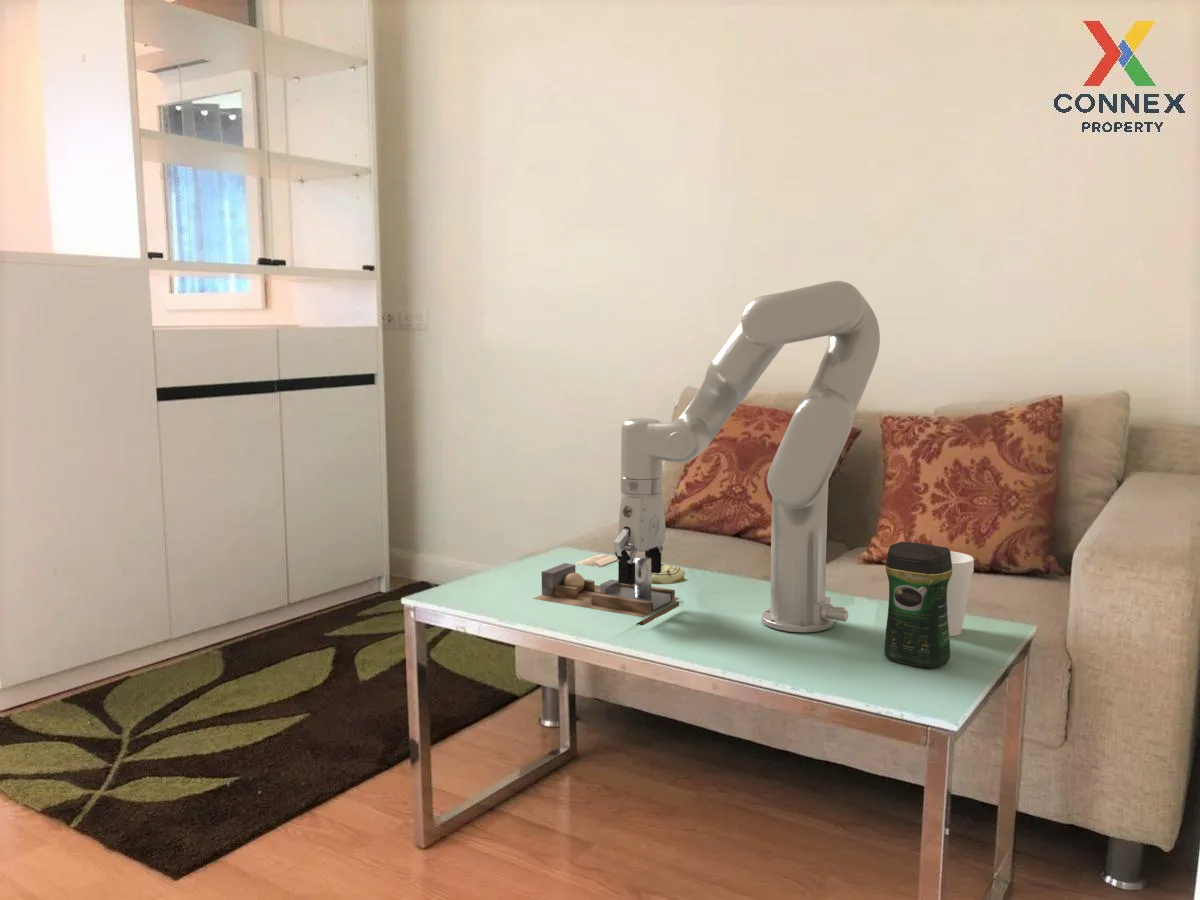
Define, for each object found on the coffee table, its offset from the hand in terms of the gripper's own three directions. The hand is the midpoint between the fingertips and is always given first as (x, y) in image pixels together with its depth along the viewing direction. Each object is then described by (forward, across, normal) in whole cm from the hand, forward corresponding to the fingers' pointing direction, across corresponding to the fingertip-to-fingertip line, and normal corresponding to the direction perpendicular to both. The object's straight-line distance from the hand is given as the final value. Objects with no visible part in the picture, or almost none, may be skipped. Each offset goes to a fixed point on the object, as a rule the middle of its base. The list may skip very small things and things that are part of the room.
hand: (640, 577), depth 180 cm
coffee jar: (+6, -1, -51) cm, 51 cm away
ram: (+5, 0, +1) cm, 5 cm away
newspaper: (+8, +21, +27) cm, 35 cm away
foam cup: (+6, +16, -51) cm, 53 cm away
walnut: (+5, 0, +15) cm, 15 cm away
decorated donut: (+7, +19, +6) cm, 21 cm away
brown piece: (+7, 0, +7) cm, 10 cm away
